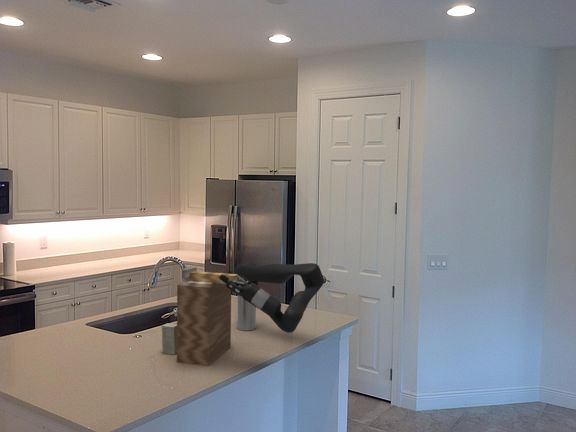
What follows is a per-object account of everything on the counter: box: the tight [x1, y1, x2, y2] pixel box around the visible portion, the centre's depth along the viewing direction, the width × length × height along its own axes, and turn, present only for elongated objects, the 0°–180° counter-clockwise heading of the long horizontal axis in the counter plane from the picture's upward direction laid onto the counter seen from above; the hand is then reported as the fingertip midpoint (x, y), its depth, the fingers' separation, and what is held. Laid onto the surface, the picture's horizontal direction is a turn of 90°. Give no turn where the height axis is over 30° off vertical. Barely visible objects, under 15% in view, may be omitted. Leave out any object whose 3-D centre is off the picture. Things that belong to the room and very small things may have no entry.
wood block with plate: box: [181, 265, 238, 284], centre depth 211 cm, size 22×9×5 cm, turn 75°
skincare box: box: [161, 322, 177, 355], centre depth 222 cm, size 6×4×12 cm
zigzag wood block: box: [176, 280, 232, 367], centre depth 219 cm, size 14×24×33 cm, turn 165°
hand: (224, 274), depth 210 cm, fingers open, 8 cm apart
